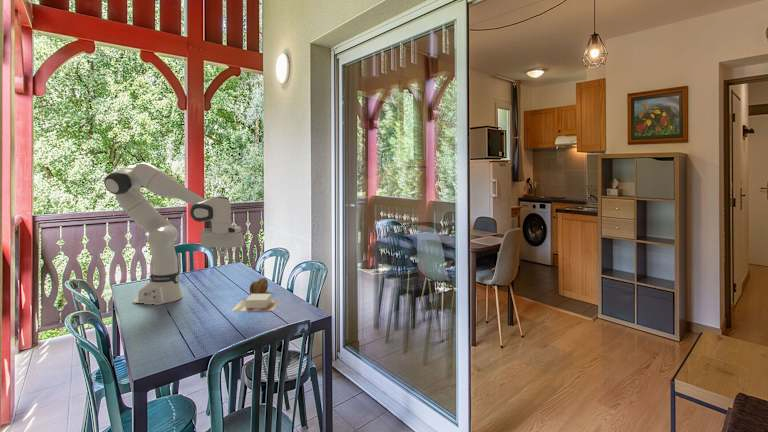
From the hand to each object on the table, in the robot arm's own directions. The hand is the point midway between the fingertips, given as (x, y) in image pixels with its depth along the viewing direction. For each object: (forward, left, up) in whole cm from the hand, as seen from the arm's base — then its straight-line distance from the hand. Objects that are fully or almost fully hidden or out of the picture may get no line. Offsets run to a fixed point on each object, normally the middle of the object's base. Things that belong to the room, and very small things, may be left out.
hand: (222, 256), depth 186 cm
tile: (+12, -1, -23) cm, 26 cm away
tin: (+12, +17, -26) cm, 33 cm away
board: (+16, -2, -25) cm, 30 cm away
